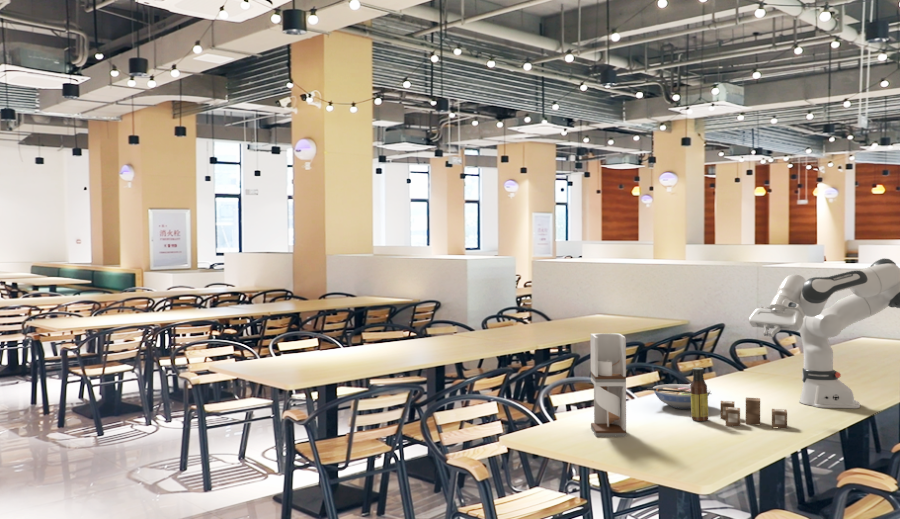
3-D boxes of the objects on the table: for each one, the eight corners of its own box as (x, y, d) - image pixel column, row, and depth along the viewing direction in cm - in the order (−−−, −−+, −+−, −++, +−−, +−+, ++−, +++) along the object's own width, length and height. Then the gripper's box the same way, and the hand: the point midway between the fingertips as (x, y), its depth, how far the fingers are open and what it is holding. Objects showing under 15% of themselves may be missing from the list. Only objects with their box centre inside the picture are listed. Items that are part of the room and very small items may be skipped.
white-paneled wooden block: (740, 423, 290) (740, 407, 290) (740, 427, 285) (740, 410, 285) (725, 422, 292) (725, 406, 292) (725, 426, 287) (725, 409, 287)
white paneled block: (734, 416, 301) (734, 401, 301) (734, 419, 296) (734, 403, 296) (720, 416, 303) (720, 400, 303) (720, 419, 298) (720, 402, 298)
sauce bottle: (708, 418, 299) (708, 367, 298) (708, 422, 293) (708, 369, 292) (690, 417, 301) (690, 366, 300) (690, 421, 295) (690, 369, 294)
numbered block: (786, 425, 287) (786, 409, 286) (787, 429, 282) (787, 412, 282) (771, 424, 288) (771, 408, 288) (772, 428, 283) (772, 411, 283)
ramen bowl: (716, 403, 324) (716, 384, 324) (710, 415, 304) (710, 394, 303) (655, 399, 335) (655, 380, 335) (645, 410, 314) (645, 390, 314)
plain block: (759, 422, 293) (759, 398, 292) (760, 425, 288) (760, 400, 288) (745, 421, 294) (745, 397, 294) (745, 424, 290) (745, 400, 289)
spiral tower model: (591, 428, 286) (590, 333, 285) (620, 428, 286) (619, 333, 284) (595, 436, 274) (595, 337, 273) (626, 436, 274) (625, 337, 273)
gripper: (754, 301, 313) (740, 327, 308) (803, 304, 297) (789, 332, 291) (760, 311, 316) (746, 338, 310) (809, 315, 300) (796, 343, 294)
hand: (768, 335), depth 301 cm, fingers closed
